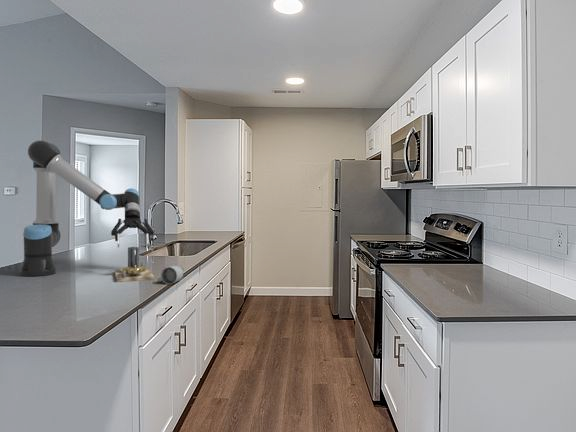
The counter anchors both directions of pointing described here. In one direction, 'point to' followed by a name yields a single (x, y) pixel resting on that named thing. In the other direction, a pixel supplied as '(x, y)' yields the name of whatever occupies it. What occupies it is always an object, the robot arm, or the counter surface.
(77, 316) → the counter surface
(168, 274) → the ceramic mug
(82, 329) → the counter surface
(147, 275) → the board
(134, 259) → the pinion
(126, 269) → the gear
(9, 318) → the counter surface
